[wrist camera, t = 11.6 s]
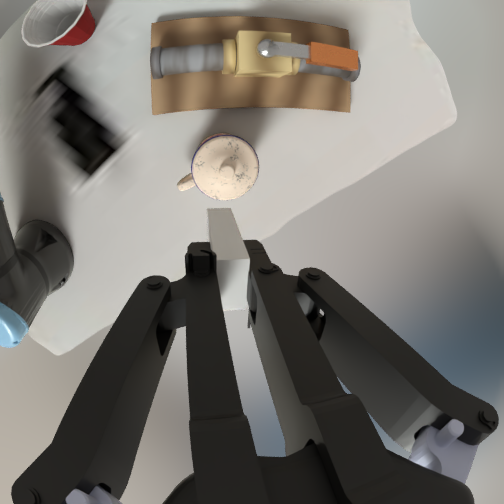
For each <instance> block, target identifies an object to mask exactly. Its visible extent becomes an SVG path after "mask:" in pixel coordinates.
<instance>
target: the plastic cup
mask: <svg viewBox="0 0 504 504" xmlns="http://www.w3.org/2000/svg"><path fill="white" fill-rule="evenodd" d="M86 3H87V0H37V1H36V2H35V3H34V4H33V5H32V7H31V8H30V10H29V11H28V13H27V15H26V16H25V18H24V22H23V25H22V29H21V31H22V39H23V41H24V42H25V43H26V44H27V45H28V46H33V47H42V46H46V45H72V46H74V45H79V44H82V43H84V42H85V41H87V40H88V39H89V38H90V37H91V36H92V34H93V32H94V30H95V21H94V18H93V17H92V15H91V12H90V10H89V8H88V6H87V4H86Z"/></svg>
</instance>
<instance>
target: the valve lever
mask: <svg viewBox="0 0 504 504" xmlns="http://www.w3.org/2000/svg"><path fill="white" fill-rule="evenodd" d="M257 52H258V54H259V55H260V56H262V57H264V58H271V57H273V56H274V57H286V58H296V59H304V60H306V64H312V65H319V66H326V67H332V68H337V69H343V70H348V71H355V70H358V51H355V50H351V49H347V48H343V47H338V46H333V45H328V44H322V43H317V42H310V43H308V44H306V45H302V44H294V43H285V42H275V41H273V40H271V39H264V40H262V41H261V42H260V43H259V44H258V46H257Z"/></svg>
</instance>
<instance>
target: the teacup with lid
mask: <svg viewBox="0 0 504 504" xmlns="http://www.w3.org/2000/svg"><path fill="white" fill-rule="evenodd" d="M191 172H192V173H190V174H188V175H187V176H185V177H184V178H182V179H181V180H180V181H179V182H178V184H177V187H178V188H179V190H181V191H184V190H187V189H189V188H191V187H193V186H195V185H196V186H197V187H198V188H199V190H200V191H201V192H203V193H204V194H205V195H207V196H209V197H211V198H213V199H217V200H231V199H235V198H238V197H240V196H242V195H243V194H245V193H246V192H248V191H249V190H250V189H251V187H252V186H253V185H254V183H255V181H256V179H257V176H258V173H259V161H258V157H257V154H256V152H255V150H254V149H253V147H252V146H251V145H250V144H249V143H248V142H247V141H245V140H244V139H242V138H240V137H237V136H233V135H231V134H226V133H219V134H214V135H211V136H209V137H208V138H206V139H205V140H204V141H203V142H202V143H201V144H200V145H199V147H198V149H197V151H196V152H195V154H194V157H193V160H192V165H191Z"/></svg>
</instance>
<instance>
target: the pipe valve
mask: <svg viewBox="0 0 504 504" xmlns="http://www.w3.org/2000/svg"><path fill="white" fill-rule="evenodd" d="M264 39H271V40H273V41H275V42H285V43H294V44H302V45H306V44H308V43H310V42H317V43H322V44H328V45H333V46H338V47H343V48H347V49H349V33H348V30H346V29H342V28H337V27H333V26H328V25H322V24H317V23H311V22H304V21H297V20H289V19H279V18H267V17H244V16H222V17H200V18H188V19H178V20H170V21H163V22H156V23H152V26H151V54H150V66H151V93H152V114H153V115H158V114H165V113H173V112H182V111H192V110H203V109H218V108H244V107H277V108H302V109H317V110H329V111H338V112H350V81H351V82H353V81H355V80H356V79H357V78H358V76H359V73H360V68H361V65H360V60H359V57H358V70H355V71H348V70H343V69H337V68H332V67H326V66H319V65H312V64H306V60H304V59H296V58H286V57H274V56H273V57H271V58H264V57H262V56H260V55H259V54H258V52H257V46H258V44H259V43H260V42H261V41H262V40H264Z"/></svg>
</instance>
